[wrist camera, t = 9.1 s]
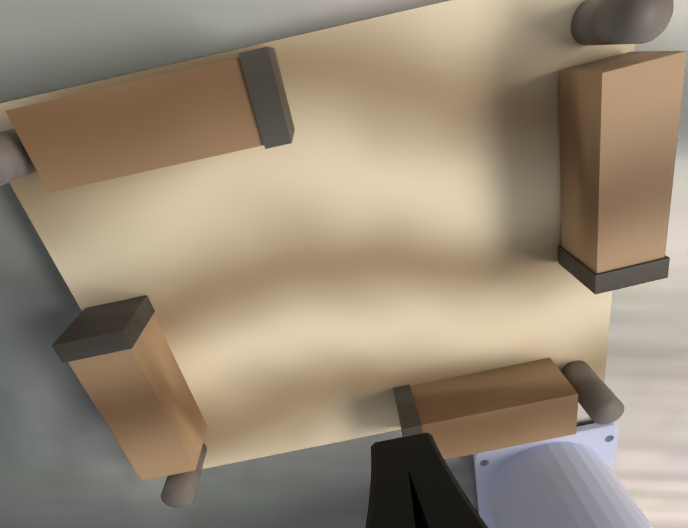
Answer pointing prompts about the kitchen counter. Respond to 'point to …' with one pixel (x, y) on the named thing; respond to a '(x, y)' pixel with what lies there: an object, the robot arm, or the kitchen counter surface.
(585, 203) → the folding leg
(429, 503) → the robot arm
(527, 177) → the stool seat
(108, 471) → the kitchen counter surface
